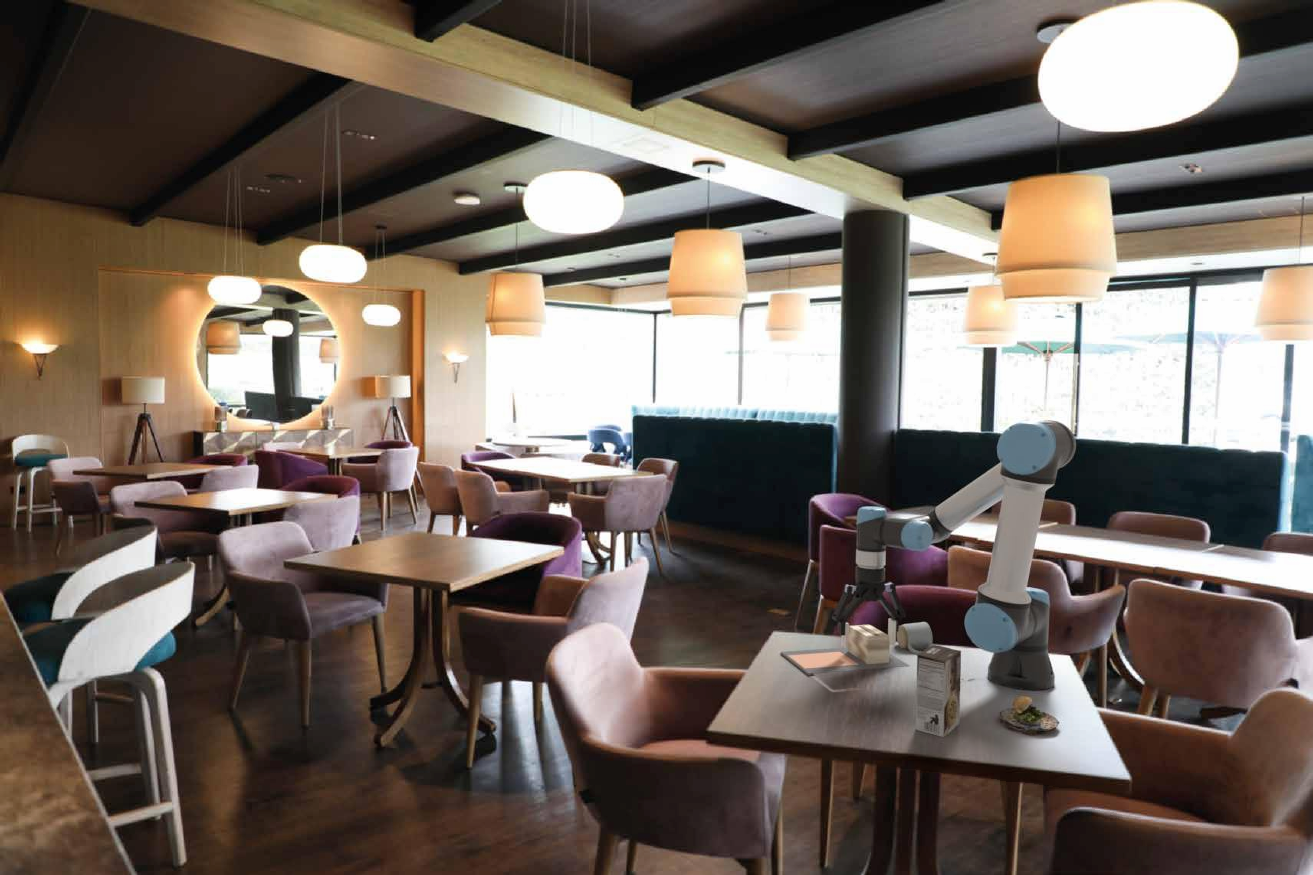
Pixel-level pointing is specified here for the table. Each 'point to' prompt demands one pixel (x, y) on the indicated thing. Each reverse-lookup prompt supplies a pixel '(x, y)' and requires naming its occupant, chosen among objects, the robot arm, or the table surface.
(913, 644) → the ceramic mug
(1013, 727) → the plate of food
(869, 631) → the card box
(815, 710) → the table surface
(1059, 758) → the table surface
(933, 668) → the coffee box
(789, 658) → the mat
